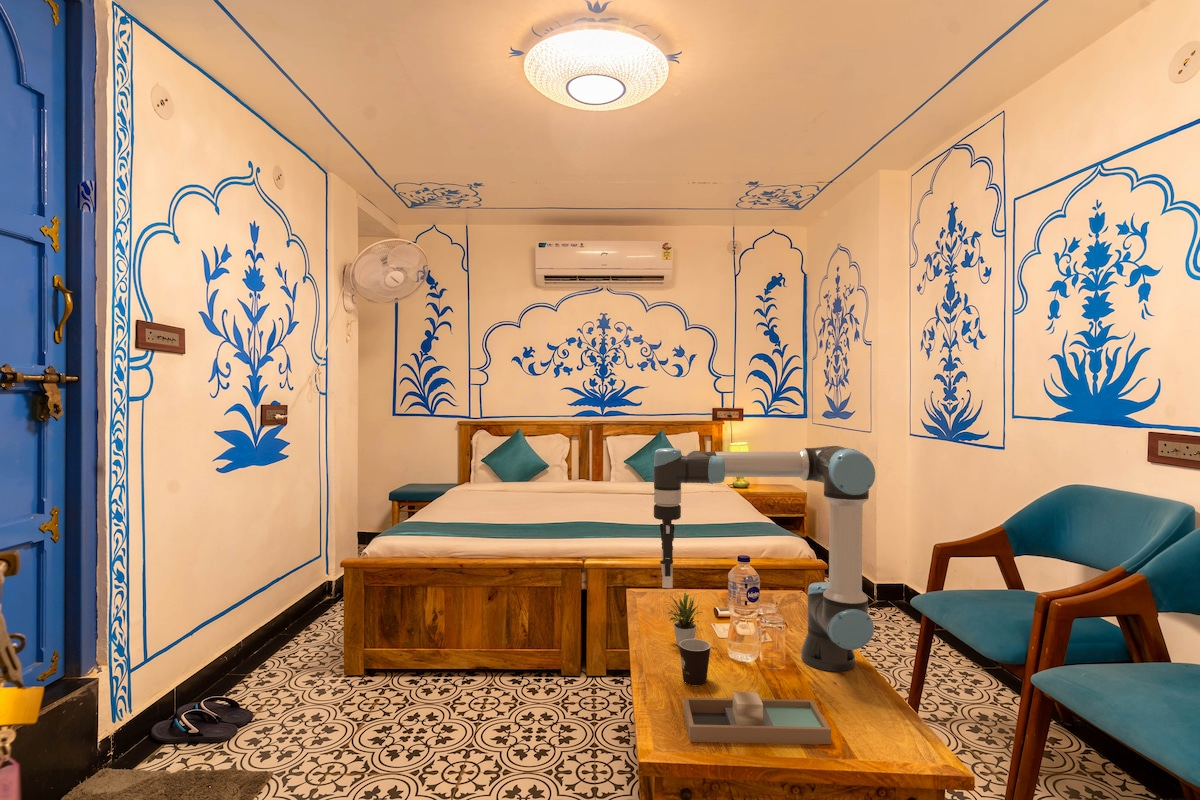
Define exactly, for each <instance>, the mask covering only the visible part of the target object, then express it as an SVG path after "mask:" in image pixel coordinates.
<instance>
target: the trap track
mask: <svg viewBox="0 0 1200 800" xmlns="http://www.w3.org/2000/svg"><path fill="white" fill-rule="evenodd" d="M760 699H761V701H762V703H763V726H755V725H737V723H736V720H735V718H734V715H733V698H728V697H727V698H725V697H724V698H722V697H718V698H717V697H715V698H714V697H683V714H684V719H685V724H686V729H687V733H688V740H689V743H727V744H728V743H732V744H735V743H736V744H737V743H738V744H770V745H771V744H776V745H777V744H779V745H780V744H781V745H783V744H784V745H819V744H831V745H832V728H831V727H830V726H829V724H828V722H827V720H826V719H825V718H824V716H823V714H822V713H821V711H820V710H819V708H818V706H817V704H816V703H815V701H814V699H784V698H783V699H780V698H779V699H777V698H776V699H775V698H774V699H773V698H772V699H771V698H769V699H768V698H760Z"/></svg>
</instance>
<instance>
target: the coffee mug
mask: <svg viewBox="0 0 1200 800" xmlns="http://www.w3.org/2000/svg"><path fill="white" fill-rule="evenodd" d="M679 646H680V647H679ZM679 646H678V647H679V653H680V662H681V663H680V665H681V673H682V681H683V680H684V681H683V683H685V682H686V683H687V684H686V683H685V684H686V685H688V684H690V685H689V686H692V685H700V686H704V685H705V684H706V683H707V679H708V670H709V664H710V663H709V662H710V655H711V643H710V642H708V641H706V640H703V639H699V638H694V639H686V640H683V641H681V642H680V643H679ZM703 684H704V685H703Z"/></svg>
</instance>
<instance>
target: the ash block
mask: <svg viewBox="0 0 1200 800" xmlns="http://www.w3.org/2000/svg"><path fill="white" fill-rule="evenodd" d="M732 699H733V715H734V718H735V720H736V723H737V725H755V726H763V703H762V701H761V699H762V698H761V697H760V695H759V693H758V692H757V691H755V692H753V691H752V692H751V691H750V692H749V691H748V692H747V691H746V692H745V691H734V692H732Z"/></svg>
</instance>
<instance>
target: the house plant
mask: <svg viewBox="0 0 1200 800" xmlns="http://www.w3.org/2000/svg"><path fill="white" fill-rule="evenodd" d="M667 596H668V598H669V597H670V599H672V601H673V602H674V604H675V605H673V604H671V603H670V602H668V601H667V602H666V601H665V603H668V604H666V605H667V606H671V607H672V608H673V609H674V610H675V612H674V611H673V610H672V609H671V608H668V607H667V609H668V610H669V612H667V613H666V615H668V616H669V617H670V619H669V620H668V622H669V621H673V622H672V623H673V629H674V633H675V635H674V636H675V642H676V646H677V645H678V647H679V648H680V646H679V643H680V642H681V641H683V640H686V639H696V638H695V637H696V630H697V624H696V623H695V622H698V623H699V620H694V619H695V616H696V615H698V614H701V613H702V614H703V613H704V612H703V611H699V612H696V613H695V611H696V610H697V608H698V607H700V606H701V604H702V602H700V603H698V604H697V606H695V607H694V604H695V597H693V596H692V595H690V593H687V591H684V593H683V601H682V599H681V598H679V599H678V600H679V605H678V602H677V600H675V599H674V597H673V596H670V595H668V594H667ZM689 596H690V599H689ZM688 600H689V602H688ZM694 613H695V614H694ZM671 615H672V616H673V617H671Z"/></svg>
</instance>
